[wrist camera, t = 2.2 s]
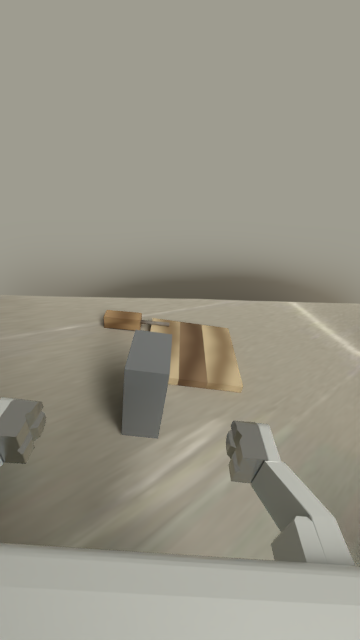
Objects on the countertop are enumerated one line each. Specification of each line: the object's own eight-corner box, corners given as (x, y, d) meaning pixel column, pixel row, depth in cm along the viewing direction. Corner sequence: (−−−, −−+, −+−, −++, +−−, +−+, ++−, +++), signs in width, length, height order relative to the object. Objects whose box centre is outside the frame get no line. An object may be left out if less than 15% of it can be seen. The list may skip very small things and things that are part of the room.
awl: (104, 327, 43) (103, 316, 41) (107, 320, 45) (106, 310, 43) (168, 333, 43) (169, 322, 42) (169, 325, 45) (170, 315, 44)
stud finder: (121, 434, 27) (123, 369, 22) (130, 391, 32) (135, 329, 27) (158, 438, 28) (170, 374, 22) (162, 395, 33) (172, 334, 27)
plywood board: (141, 380, 34) (141, 374, 33) (152, 323, 46) (152, 318, 45) (240, 392, 35) (243, 386, 34) (226, 333, 47) (228, 328, 46)
